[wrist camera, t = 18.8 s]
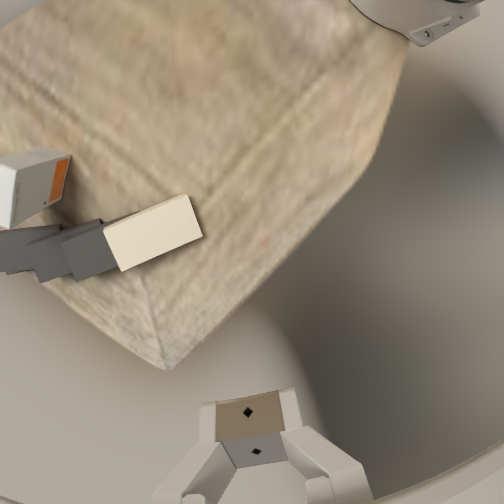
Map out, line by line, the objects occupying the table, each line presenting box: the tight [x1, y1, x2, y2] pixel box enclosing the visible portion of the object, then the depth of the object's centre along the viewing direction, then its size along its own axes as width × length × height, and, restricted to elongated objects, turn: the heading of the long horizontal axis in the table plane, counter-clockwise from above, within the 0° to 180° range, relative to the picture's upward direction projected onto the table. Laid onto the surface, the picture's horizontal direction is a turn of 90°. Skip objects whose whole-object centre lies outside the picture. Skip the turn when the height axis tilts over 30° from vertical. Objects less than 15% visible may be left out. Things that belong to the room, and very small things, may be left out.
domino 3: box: [61, 211, 140, 282], centre depth 35 cm, size 2×5×10 cm
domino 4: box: [103, 193, 202, 272], centre depth 35 cm, size 2×5×10 cm
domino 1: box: [0, 224, 62, 272], centre depth 34 cm, size 2×5×10 cm
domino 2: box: [26, 218, 101, 283], centre depth 35 cm, size 2×5×10 cm
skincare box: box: [0, 146, 71, 229], centre depth 28 cm, size 6×4×12 cm
